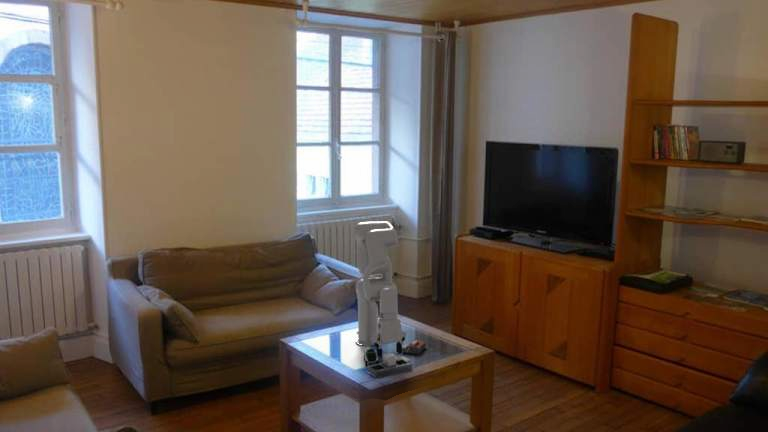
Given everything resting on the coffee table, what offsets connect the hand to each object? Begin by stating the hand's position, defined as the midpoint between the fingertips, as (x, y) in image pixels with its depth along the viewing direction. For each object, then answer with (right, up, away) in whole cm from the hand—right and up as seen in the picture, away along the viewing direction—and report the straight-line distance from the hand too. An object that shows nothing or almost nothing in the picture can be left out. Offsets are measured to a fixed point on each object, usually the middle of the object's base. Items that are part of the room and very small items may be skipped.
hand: (389, 354), depth 289 cm
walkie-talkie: (+10, -4, +24) cm, 27 cm away
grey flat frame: (0, -7, +2) cm, 7 cm away
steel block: (0, -7, +2) cm, 7 cm away
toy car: (-8, -6, +12) cm, 15 cm away
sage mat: (+4, -5, +14) cm, 16 cm away
